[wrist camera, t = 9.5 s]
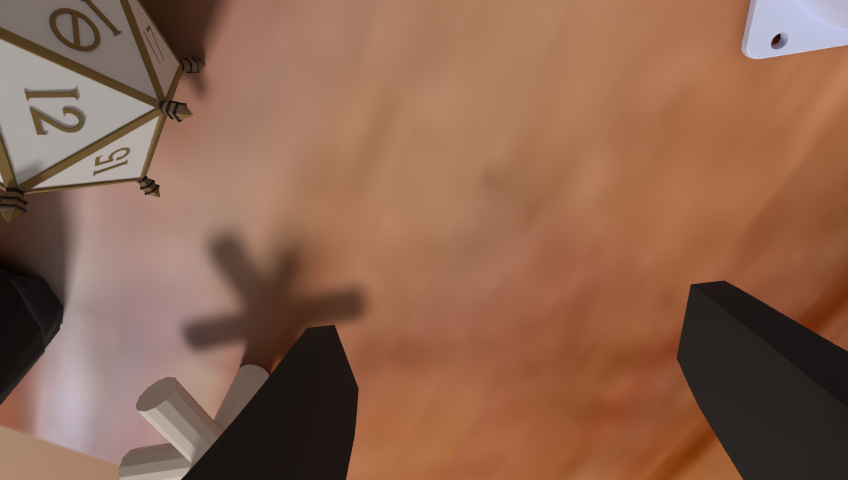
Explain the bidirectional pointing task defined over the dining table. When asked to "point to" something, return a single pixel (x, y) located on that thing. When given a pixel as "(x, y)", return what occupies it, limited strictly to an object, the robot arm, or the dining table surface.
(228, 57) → the dining table surface
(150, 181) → the game die
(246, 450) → the robot arm
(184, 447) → the pipe connector
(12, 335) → the portable speaker
